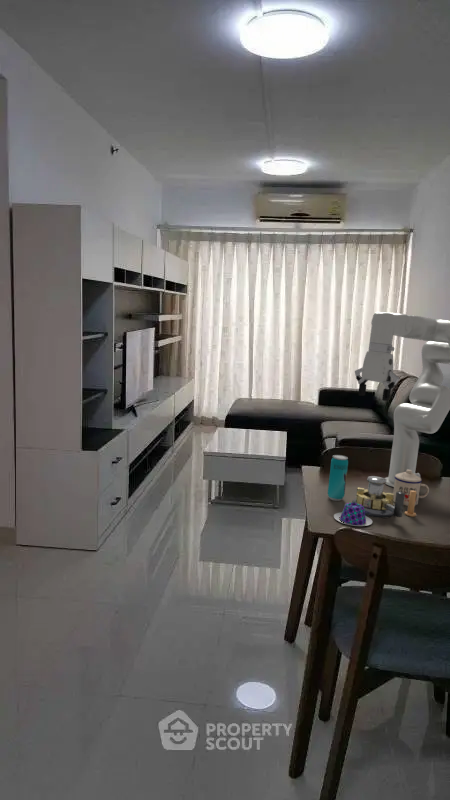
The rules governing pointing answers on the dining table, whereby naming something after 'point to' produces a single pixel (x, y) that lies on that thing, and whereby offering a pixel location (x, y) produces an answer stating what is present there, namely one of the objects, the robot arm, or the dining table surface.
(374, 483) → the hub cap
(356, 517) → the pudding
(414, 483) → the teacup with lid
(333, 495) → the beverage can
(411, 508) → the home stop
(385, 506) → the segmented ring with handle
